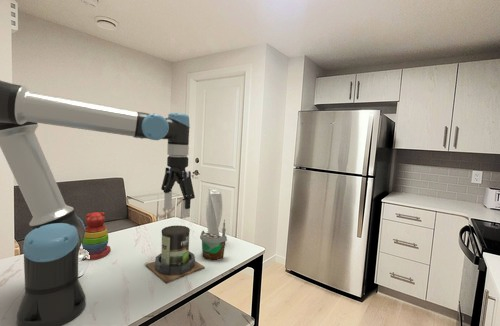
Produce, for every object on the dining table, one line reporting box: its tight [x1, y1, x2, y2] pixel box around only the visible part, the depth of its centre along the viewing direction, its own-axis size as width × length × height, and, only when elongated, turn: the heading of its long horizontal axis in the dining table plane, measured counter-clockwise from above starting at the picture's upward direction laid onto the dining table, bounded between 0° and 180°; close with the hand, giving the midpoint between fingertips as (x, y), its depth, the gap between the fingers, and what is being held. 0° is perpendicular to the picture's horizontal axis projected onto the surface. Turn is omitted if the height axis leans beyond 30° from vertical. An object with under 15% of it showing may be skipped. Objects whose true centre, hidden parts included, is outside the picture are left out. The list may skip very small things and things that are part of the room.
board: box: [144, 260, 206, 284], centre depth 101 cm, size 16×16×1 cm
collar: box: [154, 251, 196, 275], centre depth 100 cm, size 14×14×3 cm
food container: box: [199, 230, 228, 262], centre depth 110 cm, size 12×6×10 cm, turn 65°
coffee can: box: [160, 225, 191, 266], centre depth 100 cm, size 10×10×14 cm
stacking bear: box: [81, 211, 112, 261], centre depth 107 cm, size 11×10×18 cm
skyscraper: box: [205, 187, 226, 237], centre depth 121 cm, size 8×8×28 cm
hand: (176, 213), depth 99 cm, fingers open, 12 cm apart
